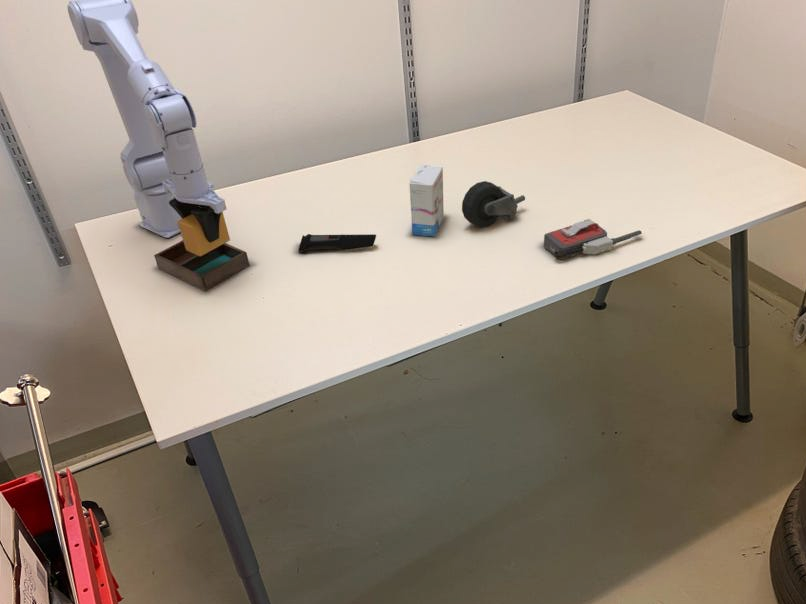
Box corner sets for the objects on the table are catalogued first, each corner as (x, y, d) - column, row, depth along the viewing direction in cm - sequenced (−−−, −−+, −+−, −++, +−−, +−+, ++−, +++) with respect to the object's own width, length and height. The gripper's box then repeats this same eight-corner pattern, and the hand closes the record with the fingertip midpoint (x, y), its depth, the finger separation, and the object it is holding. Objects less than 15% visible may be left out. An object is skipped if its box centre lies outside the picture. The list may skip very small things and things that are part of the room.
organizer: (158, 268, 139) (153, 255, 137) (203, 244, 146) (199, 231, 144) (205, 291, 133) (201, 278, 131) (249, 265, 140) (246, 252, 138)
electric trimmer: (376, 253, 143) (375, 239, 141) (298, 254, 143) (295, 240, 140) (378, 243, 146) (376, 229, 144) (301, 244, 145) (298, 230, 143)
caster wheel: (475, 239, 148) (532, 211, 154) (470, 198, 141) (530, 171, 147) (460, 228, 152) (516, 201, 157) (454, 187, 145) (513, 161, 151)
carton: (186, 250, 133) (176, 221, 129) (216, 234, 137) (208, 205, 133) (200, 256, 131) (191, 227, 127) (230, 240, 136) (222, 211, 132)
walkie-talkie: (561, 268, 138) (643, 240, 145) (563, 248, 135) (646, 221, 143) (536, 247, 144) (616, 221, 151) (537, 227, 141) (618, 202, 148)
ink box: (435, 237, 147) (432, 184, 139) (411, 235, 148) (407, 182, 140) (445, 217, 153) (443, 165, 146) (422, 215, 154) (419, 163, 146)
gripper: (232, 169, 123) (249, 238, 132) (178, 149, 130) (197, 216, 139) (198, 184, 119) (218, 255, 128) (144, 163, 125) (167, 232, 134)
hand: (205, 236), depth 133 cm, fingers closed on carton, 4 cm apart
